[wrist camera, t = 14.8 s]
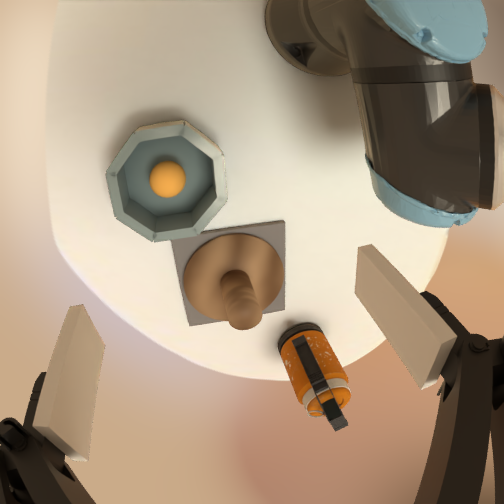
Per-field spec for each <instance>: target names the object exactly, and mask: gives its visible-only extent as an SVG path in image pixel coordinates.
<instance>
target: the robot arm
mask: <svg viewBox="0 0 504 504" xmlns="http://www.w3.org/2000/svg"><path fill="white" fill-rule="evenodd" d="M265 23H266V29H267V32H268V35H269V38H270V40H271V42H272V44H273V45H274V47H275V48H276V50H277V51H278V52H279V53H280V55H281V56H282V57H283V58H284V59H285V60H287V61H288V62H289V63H290V64H292V65H293V66H295V67H296V68H298V69H300V70H302V71H305V72H307V73H311V74H314V75H320V76H337V75H344V74H347V73H350V72H351V74H352V78H353V84H354V88H355V93H356V97H357V102H358V107H359V112H360V118H361V124H362V129H363V135H364V142H365V148H366V154H365V159H366V163H367V165H368V167H369V169H370V174H371V180H372V186H373V189H374V192H375V194H376V196H377V197H378V199H380V200H381V201H382V203H383V204H384V206H385V207H386V208H387V209H389V210H390V211H391V212H393V213H394V214H396V215H398V216H400V217H401V218H404V219H406V220H408V221H411V222H414V223H417V224H420V225H424V226H429V227H437V228H449V227H452V225H453V224H456V225H458V226H460V225H463V224H466V223H467V222H469V221H470V220H471V219H472V218H473V217H474V215H475V213H476V212H477V211H478V208H483V209H489V210H495V209H496V208H497V207H499V206H500V205H501V204H502V203H503V202H504V97H503V95H502V94H501V93H499V91H498V90H497V89H496V88H495V87H494V86H493V85H489V84H477V83H474V82H473V76H472V70H471V63H470V61H471V60H473V59H475V58H476V57H478V56H479V55H480V54H481V53H482V51H483V50H484V48H485V45H486V42H485V40H484V37H487V35H488V23H487V17H486V13H485V10H484V7H483V4H482V1H481V0H269V1H268V4H267V7H266V12H265ZM355 294H356V296H357V297H358V298H359V300H360V301H361V303H362V304H363V305H364V307H365V308H366V310H367V311H368V312H369V314H370V315H371V317H372V318H373V319H374V321H375V322H376V324H377V325H378V327H379V328H380V329H381V331H382V332H383V334H384V335H385V337H386V338H387V340H388V341H389V342H390V344H391V345H392V347H393V348H394V350H395V351H396V353H397V354H398V356H399V357H400V359H401V360H402V362H403V363H404V365H405V366H406V368H407V369H408V370H409V372H410V374H411V375H412V376H413V378H414V380H415V381H416V383H417V384H418V386H419V388H420V389H421V390H422V389H424V388H426V387H429V386H431V385H433V384H435V383H436V382H437V380H438V378H439V375H440V374H441V375H442V377H443V378H444V382H443V383H442V385H441V387H440V389H439V391H438V393H437V395H438V396H439V395H440V393H441V398H440V403H439V409H438V415H437V420H436V425H435V430H434V434H433V439H432V443H431V447H430V451H429V455H428V459H427V463H426V467H425V470H424V474H423V477H422V480H421V484H420V487H419V490H418V493H417V496H416V499H415V502H414V504H478V500H479V496H480V492H481V486H482V482H483V476H484V471H485V465H486V459H487V452H488V444H489V435H490V431H491V438H492V449H493V460H494V474H495V504H504V336H503V338H500V339H494V340H487V339H486V338H485V337H484V336H482V335H479V334H470V333H469V332H468V331H467V330H466V328H465V327H464V326H463V325H462V324H461V323H460V322H459V321H458V319H456V317H455V316H454V315H453V314H452V313H451V312H449V310H448V309H447V307H446V306H444V305H443V303H442V302H441V301H440V300H439V299H438V298H437V297H436V296H434V295H433V294H431V293H429V292H427V291H425V292H422V293H419V292H418V291H417V290H416V289H415V288H414V287H413V286H412V285H411V284H410V283H409V282H408V281H407V280H406V279H405V277H404V276H403V275H402V274H401V273H400V272H399V271H398V270H397V269H396V268H395V267H394V266H393V265H392V264H391V263H390V262H389V261H388V260H387V259H386V258H385V257H384V256H383V255H382V254H381V253H380V252H379V251H378V250H377V249H376V248H375V247H374V246H373V245H372V244H370V245H366V246H361V247H358V255H357V270H356V283H355ZM104 349H105V344H104V342H103V341H102V339H101V337H100V335H99V333H98V332H97V330H96V328H95V326H94V324H93V322H92V321H91V319H90V317H89V315H88V313H87V311H86V309H85V307H84V305H83V304H82V305H76V306H71V307H69V310H68V313H67V315H66V318H65V320H64V323H63V326H62V329H61V331H60V334H59V337H58V340H57V342H56V345H55V348H54V351H53V354H52V357H51V360H50V363H49V367H48V370H47V372H42V373H41V374H40V375H39V377H38V378H37V380H36V381H35V384H34V387H33V390H32V392H33V393H32V394H31V397H30V402H29V405H28V408H27V412H26V416H25V420H24V424H23V426H22V425H21V424H20V423H19V422H18V421H17V420H16V419H14V418H6V419H4V420H2V421H1V422H0V444H1V446H0V504H96V503H95V502H94V500H93V499H92V498H91V496H90V495H89V494H88V492H87V491H86V490H85V488H84V487H83V486H82V485H81V483H80V481H79V480H78V479H77V477H76V476H75V474H74V473H73V471H72V470H71V468H70V467H69V465H68V464H67V463H66V462H65V461H64V460H65V455H66V456H68V457H69V458H70V459H72V460H73V461H88V460H89V450H90V441H91V432H92V423H93V415H94V408H95V401H96V394H97V388H98V381H99V376H100V370H101V365H102V360H103V354H104Z"/></svg>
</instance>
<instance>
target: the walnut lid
mask: <svg viewBox="0 0 504 504" xmlns="http://www.w3.org/2000/svg"><path fill="white" fill-rule="evenodd" d="M283 280H284V268H283V263H282V261H281V259H280V257H279V255H278V253H277V252H276V250H275V249H274V248H273V247H272V246H271V245H270V244H269V243H268V242H267V241H265V240H263V239H262V238H259V237H257V236H254V235H251V234H245V233H230V234H225V235H221V236H218V237H215V238H213V239H211V240H209V241H207V242H206V243H204V244H203V245H201V246H200V247H199V248H198V249H197V250H196V251H195V252H194V253H193V254H192V256H191V257H190V259H189V261H188V263H187V265H186V268H185V271H184V290H185V294H186V296H187V299H188V301H189V302H190V303H191V305H192V306H193V307H194V308H195V309H196V310H197V311H198V312H200V313H201V314H203V315H205V316H207V317H209V318H212V319H215V320H221V321H229V323H230V325H231V326H232V327H233V328H235V329H238V330H247V329H251V328H253V327H255V326H256V325H257V324H259V322H260V321H261V319H262V311H263V310H264V309H266V308H267V307H268V306H269V305H270V304H271V303H272V302H273V301H274V300H275V298H276V297H277V296H278V294H279V292H280V290H281V287H282V285H283Z"/></svg>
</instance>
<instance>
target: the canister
mask: <svg viewBox="0 0 504 504" xmlns="http://www.w3.org/2000/svg"><path fill="white" fill-rule="evenodd" d="M278 350H279V353H280V355H281V358H282V360H283V363H284V365H285V368H286V371H287V373H288V376H289V378H290V381H291V383H292V386H293V388H294V391H295V394H296V396H297V399H298V401H299V402H300V403H301V404H303V405H304V407H305V409H306V411H307V415H308V416H310V417H315V418H317V417H323V416H326V417H327V419H328V421H329V423H330V424H331V425H332V427H333V428H334V430H335V431H337V430H340V429H341V428H344V427H345V426H348V422H347V420H346V419H345V418H344V416H343V414H342V411H341V409H342V408H343V407H344V406H345V405H346V404H347V403H348V402H349V400H350V397H351V390H350V388H349V386H348V377H347V375H346V373H345V372H344V370H343V368H342V366H341V364H340V362H339V361H338V359H337V357H336V355H335V353H334V352H333V350H332V348H331V346H330V344H329V342H328V341H327V339H326V337H325V335H324V333H323V332H322V330H321V329H320V328H319V327H318V326H316V325H312V324H305V325H300V326H297V327H295V328H293V329H291V330H289V331H288V332H287V333H286V334H284V336H283V337H282V338H281V339H280V341H279V344H278ZM309 414H310V415H309Z"/></svg>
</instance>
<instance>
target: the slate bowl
mask: <svg viewBox="0 0 504 504" xmlns="http://www.w3.org/2000/svg"><path fill="white" fill-rule="evenodd" d="M163 161H173V162H176V163H178V164H179V165H180V166H181V167H182V168H183V169H184V171H185V174H186V183H185V186H184V188H183V190H182V191H181V192H180V193H179V194H177V195H176V196H173V197H169V198H165V197H161V196H158V195H157V194H156V193H154V192H153V190H152V189H151V186H150V183H149V177H150V173H151V171H152V169H153V168H154V167H155V166H156V165H157V164H158V163H160V162H163ZM106 172H107V173H106V179H107V184H108V189H109V194H110V198H111V203H112V207H113V212H114V216H115V217H116V219H117V220H119V221H120V222H122V223H123V224H125V225H126V226H128V227H129V228H131V229H132V230H134V231H136V232H137V233H139V234H140V235H142V236H143V237H145V238H146V239H148V240H150V241H151V242H153V240H154V242H161V241H167V240H174V239H180V238H187V237H193V236H197V234H198V235H199V234H200V233H201V232H202V231H203V229H204V228H205V227H206V226H207V225H208V223H209V222H210V221H211V220H212V219H213V217H214V216H215V215H216V214H217V213H218V212H219V210H220V209H221V208H222V207H223V206H224V205H225V203H226V202H227V200H228V197H227V185H226V173H225V161H224V154H223V153H222V151H221V150H220V148H219V147H218V145H216V144H215V143H214V142H213V141H211V140H210V139H209V138H208V137H206V136H205V135H204V134H203V133H202V132H201V131H199V130H198V129H196V128H195V127H193V126H192V125H191V124H189V123H188V122H187V121H184V122H183V120H178V121H171V122H161V123H156V124H152V125H146V126H141V127H139V128H138V129H137V130H135V131H134V132H133V133H132V135H131V136H130V137H129V139H128V140H127V142H126V143H125V144H124V146H123V147H122V149H121V150H120V152H119V153H118V154H117V156H116V157H115V159H114V160H113V162H112V163H111V165H110V166H109V168H108V169H107V171H106Z"/></svg>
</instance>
